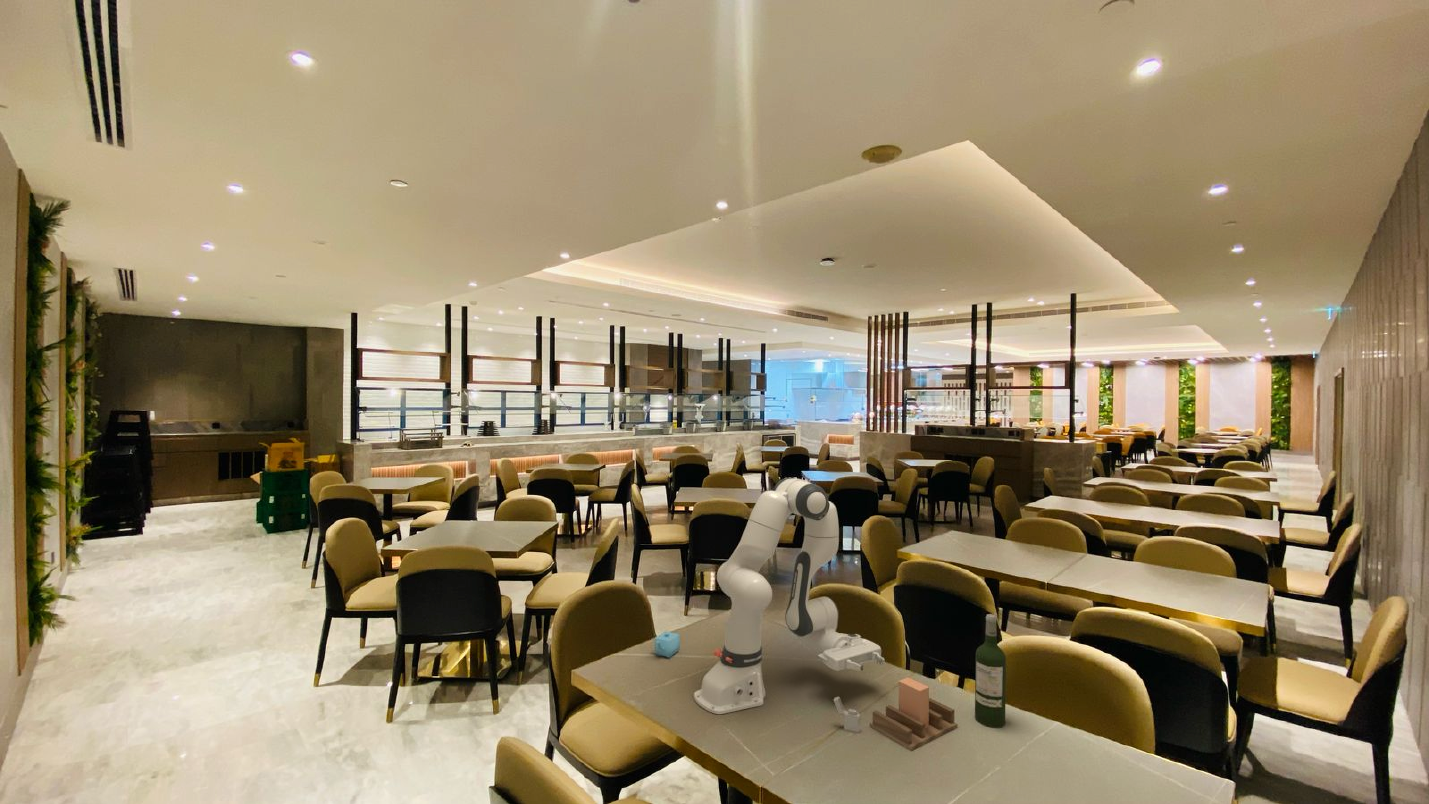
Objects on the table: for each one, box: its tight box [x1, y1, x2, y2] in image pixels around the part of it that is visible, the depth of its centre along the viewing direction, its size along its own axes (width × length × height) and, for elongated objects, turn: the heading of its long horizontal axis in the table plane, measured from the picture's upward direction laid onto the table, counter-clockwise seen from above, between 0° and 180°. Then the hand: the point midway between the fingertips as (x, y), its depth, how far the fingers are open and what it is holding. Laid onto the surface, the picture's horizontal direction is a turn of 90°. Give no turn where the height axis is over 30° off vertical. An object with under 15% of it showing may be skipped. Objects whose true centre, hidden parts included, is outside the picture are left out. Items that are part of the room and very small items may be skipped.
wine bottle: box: [974, 613, 1007, 729], centre depth 173 cm, size 8×8×30 cm
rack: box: [869, 697, 958, 752], centre depth 170 cm, size 20×14×4 cm
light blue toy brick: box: [654, 630, 681, 659], centre depth 216 cm, size 12×6×8 cm, turn 153°
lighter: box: [833, 696, 861, 733], centre depth 169 cm, size 7×2×8 cm, turn 66°
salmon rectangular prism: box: [898, 677, 930, 728], centre depth 170 cm, size 4×7×11 cm, turn 35°
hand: (872, 665), depth 181 cm, fingers open, 8 cm apart
